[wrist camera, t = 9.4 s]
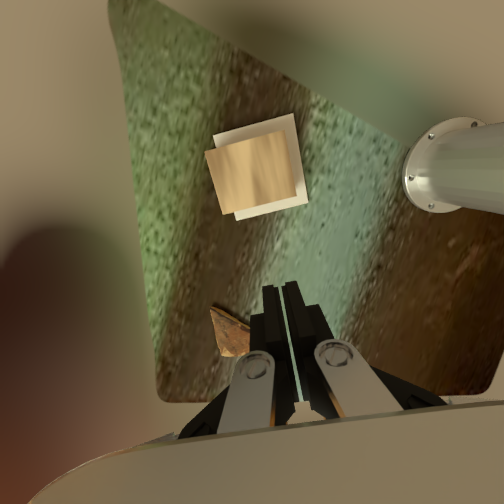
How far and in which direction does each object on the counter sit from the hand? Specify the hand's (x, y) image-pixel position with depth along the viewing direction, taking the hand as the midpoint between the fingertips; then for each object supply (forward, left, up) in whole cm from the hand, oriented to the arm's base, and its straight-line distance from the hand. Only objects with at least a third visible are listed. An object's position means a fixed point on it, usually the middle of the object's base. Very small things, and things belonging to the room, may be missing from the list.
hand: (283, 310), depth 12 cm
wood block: (+5, -6, -24) cm, 25 cm away
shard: (+11, +20, -27) cm, 35 cm away
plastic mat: (-2, -6, -26) cm, 27 cm away
